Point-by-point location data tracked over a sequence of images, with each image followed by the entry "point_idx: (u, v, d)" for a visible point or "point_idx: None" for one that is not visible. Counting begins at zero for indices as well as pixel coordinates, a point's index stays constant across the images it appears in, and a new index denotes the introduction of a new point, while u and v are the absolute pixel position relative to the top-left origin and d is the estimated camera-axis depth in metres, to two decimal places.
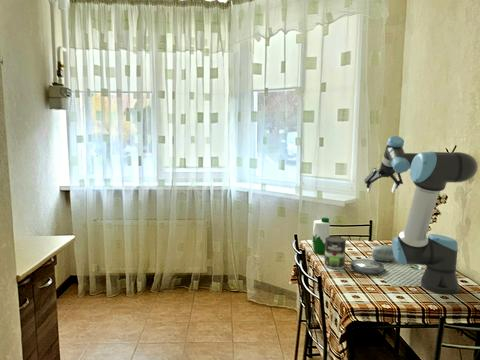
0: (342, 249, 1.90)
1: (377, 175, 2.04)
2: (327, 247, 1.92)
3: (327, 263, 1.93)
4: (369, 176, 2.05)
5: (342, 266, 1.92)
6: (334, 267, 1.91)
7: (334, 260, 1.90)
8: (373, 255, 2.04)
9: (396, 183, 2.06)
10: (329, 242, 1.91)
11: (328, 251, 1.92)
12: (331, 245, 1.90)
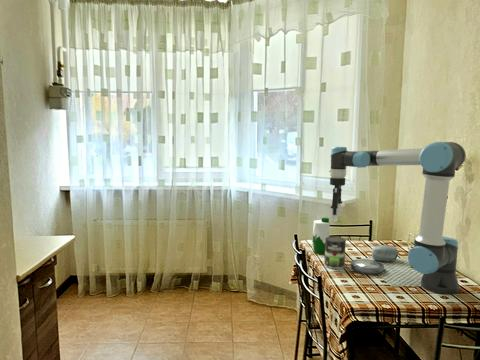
0: (342, 249, 1.90)
1: None
2: (327, 247, 1.92)
3: (327, 263, 1.93)
4: (335, 198, 1.84)
5: (342, 266, 1.92)
6: (334, 267, 1.91)
7: (334, 260, 1.90)
8: (373, 255, 2.04)
9: (340, 201, 1.98)
10: (329, 242, 1.91)
11: (328, 251, 1.92)
12: (331, 245, 1.90)
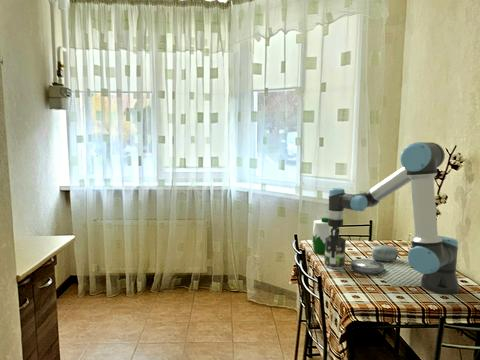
0: (342, 249, 1.90)
1: None
2: (327, 247, 1.92)
3: (327, 263, 1.93)
4: (333, 242, 1.87)
5: (342, 266, 1.91)
6: (334, 267, 1.90)
7: None
8: (373, 255, 2.04)
9: None
10: (329, 242, 1.91)
11: (328, 251, 1.92)
12: None
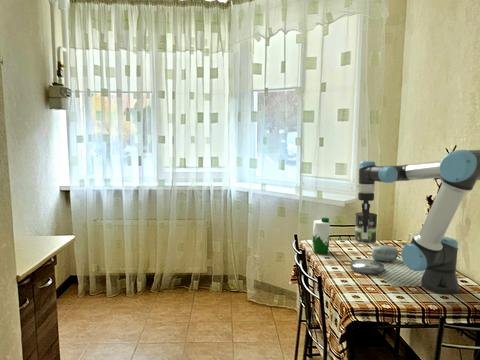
0: (374, 223, 1.84)
1: None
2: (358, 222, 1.85)
3: (358, 239, 1.86)
4: (365, 216, 1.80)
5: (374, 241, 1.85)
6: (366, 242, 1.84)
7: None
8: (373, 255, 2.04)
9: None
10: (360, 217, 1.84)
11: (359, 226, 1.85)
12: None
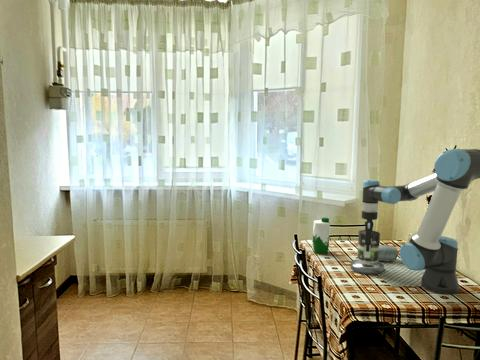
0: (377, 242, 1.85)
1: None
2: (361, 240, 1.86)
3: (361, 257, 1.87)
4: (368, 235, 1.81)
5: (376, 260, 1.86)
6: (368, 261, 1.85)
7: None
8: None
9: None
10: (363, 235, 1.85)
11: (362, 245, 1.86)
12: (365, 238, 1.84)
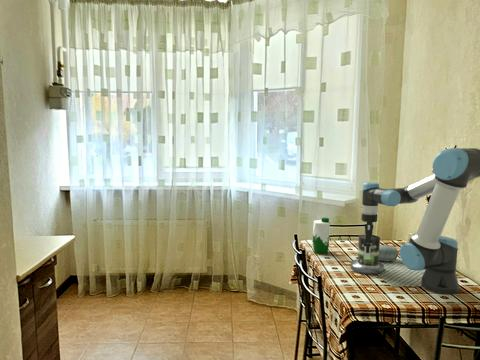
0: (377, 247, 1.85)
1: None
2: (361, 245, 1.86)
3: (361, 261, 1.87)
4: (368, 236, 1.81)
5: (376, 264, 1.86)
6: (368, 265, 1.85)
7: None
8: None
9: None
10: (363, 240, 1.85)
11: (362, 249, 1.86)
12: None
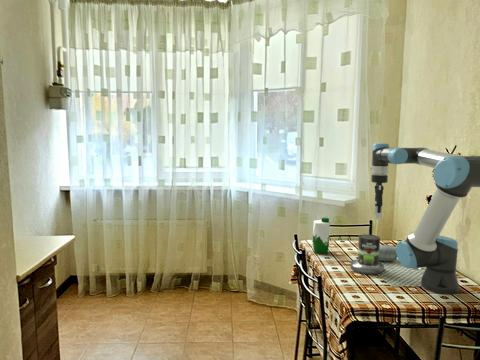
0: (377, 247, 1.85)
1: None
2: (361, 245, 1.87)
3: (361, 261, 1.87)
4: (379, 196, 1.80)
5: (376, 264, 1.86)
6: (368, 265, 1.85)
7: (369, 258, 1.85)
8: None
9: None
10: (363, 240, 1.85)
11: (362, 249, 1.86)
12: (365, 243, 1.85)
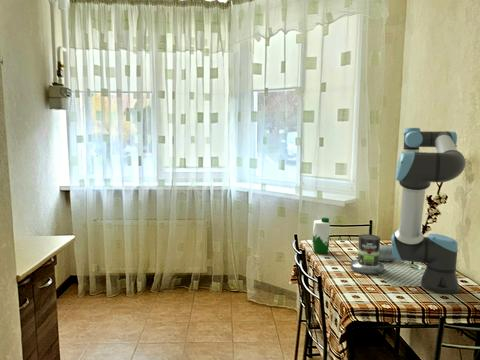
0: (377, 247, 1.85)
1: None
2: (361, 245, 1.86)
3: (361, 261, 1.87)
4: None
5: (377, 264, 1.86)
6: (369, 266, 1.85)
7: (369, 258, 1.85)
8: None
9: None
10: (363, 240, 1.85)
11: (362, 249, 1.86)
12: (366, 243, 1.85)
